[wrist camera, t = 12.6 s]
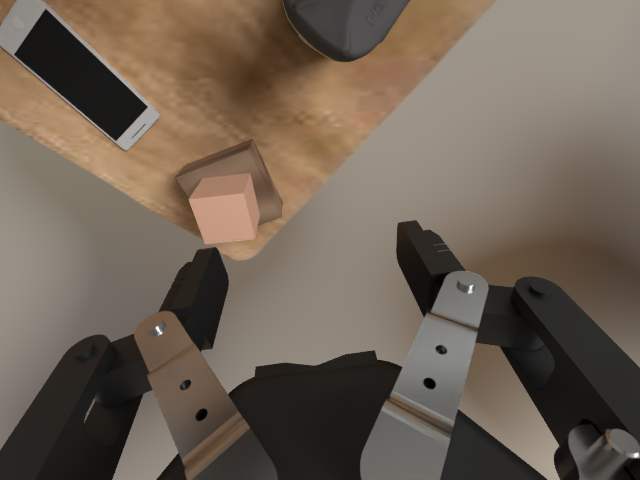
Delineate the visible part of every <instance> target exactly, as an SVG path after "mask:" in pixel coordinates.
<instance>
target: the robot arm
mask: <svg viewBox="0 0 640 480" xmlns="http://www.w3.org/2000/svg"><path fill="white" fill-rule="evenodd" d="M396 253H397V260H398V264H399V266H400V268H401V270H402V272H403V274H404V276H405V279H406V281H407V283H408V285H409V287H410V289H411V291H412V293H413V295H414V297H415V299H416V302H417V304H418V306H419V308H420V310H421V312H422V314H423V316H424V320H423V322H422V324H421V327H420V329H419V331H418V333H417V336H416V338H415V340H414V343H413V345H412V347H411V349H410V352H409V354H408V356H407V358H406V361H405V363H404V366H403V367H401V366H399V365H396V364H394V363H391V362H388V361H383V360H377V357H376V354H375V351H367V352H360V353H353V354H345V355H343V356H340V357H338V358H335V359H333V360H330V361H327V362H325V363H322V364H320V365H316V366H311V365H301V364H292V363H279V364H272V365H266V366H258V367H256V370H255V377H253V378H251V379H249V380H247V381H245V382H243V383H242V384H240V385H238V386H237V387H236V388H235V389H233V390H232V391H231V392H230V393H229V394H227V392H226V391H225V389H224V388H223V386H222V385H221V383H220V382H219V380H218V379H217V377H216V376H215V374H214V372H213V371H212V369H211V368H210V366H209V365H208V363H207V362H206V360H205V358H204V357H203V355H202V354H201V350H205V349H212V348H213V344H214V340H215V337H216V333H217V329H218V325H219V321H220V317H221V314H222V310H223V306H224V302H225V298H226V295H227V291H228V285H229V280H228V274H227V272H226V269H225V266H224V264H223V261H222V258H221V256H220V253H219V251H218V249H217V248H216V247H214V248H206V249H199V250H197V252H196V254H195V256H194V259H193V261H192V262H188V263H186V264H185V265H184V266H183V267H182V268H181V269H180V270H179V272H178V274H177V276H176V278H175V281H174V282H173V284H172V286H171V288H170V290H169V292H168V294H167V296H166V298H165V300H164V302H163V304H162V306H161V308H160V310H159V312H158V313H155V314H153V315H151V316H149V317H147V318H146V319H144V320H143V321H142V322H141V323H140V324H139V325H138V327H137V328H136V330H135V333H134V334H132V335H130V336H127V337H124V338H122V339H119V340H116V341H114V342H110V340H109V339H108V338H107V337H106V336H104V335H94V336H90V337H87V338H85V339H83V340H81V341H79V342H78V343H76V344H75V345H73V346H72V347H71V348H70V349H69V350H68V351H67V352H66V353H65V355H64V356H63V357H62V359H61V360H60V362H59V363H58V365H57V366H56V368H55V369H54V371H53V372H52V374H51V375H50V377H49V378H48V380H47V381H46V383H45V384H44V386H43V387H42V389H41V390H40V392H39V393H38V395H37V396H36V398H35V399H34V401H33V402H32V404H31V405H30V407H29V408H28V410H27V411H26V413H25V414H24V416H23V417H22V419H21V420H20V422H19V423H18V425H17V426H16V428H15V429H14V431H13V432H12V434H11V435H10V437H9V438H8V440H7V441H6V443H5V444H4V446H3V447H2V449H1V450H0V480H112V479H113V475H114V473H115V470H116V468H117V465H118V462H119V459H120V457H121V454H122V451H123V448H124V446H125V443H126V440H127V437H128V435H129V432H130V429H131V427H132V424H133V421H134V418H135V416H136V413H137V410H138V407H139V405H140V402H141V399H142V396H143V394H144V393H146V392H148V391H151V390H153V392H154V394H155V397H156V399H157V401H158V404H159V406H160V409H161V411H162V414H163V416H164V418H165V420H166V423H167V425H168V428H169V430H170V432H171V435H172V437H173V440H174V442H175V445H176V447H177V449H178V452H179V453H178V454H177V455H176V457H175V458H174V459H173V460H172V462H171V463H170V464H169V465H168V466H167V467H166V469H165V470H164V471H163V472H162V474H161V475H160V476H159V477H158V478H157V480H547V479H546V478H545V477H544V476H543V475H541V474H540V473H539V472H538V471H536V470H535V469H534V468H532V467H531V466H530V465H529V464H527V463H526V462H525V461H523V460H522V459H521V458H520V457H518V456H517V455H516V454H515V453H513V452H512V451H511V450H510V449H508V448H507V447H506V446H504V445H503V444H502V443H501V442H499V441H498V440H497V439H495V438H494V437H493V436H492V435H490V434H489V433H488V432H486V431H485V430H484V429H483V428H482V427H480V426H479V425H478V424H476V423H475V422H474V421H473V420H471V419H470V418H469V417H468V416H466V415H465V414H464V413H462V412H461V411H460V410H459V409H458V407H459V403H460V399H461V395H462V391H463V388H464V383H465V380H466V375H467V372H468V368H469V364H470V360H471V357H472V353H473V349H474V345H475V343H482V344H490V345H497V346H500V348H501V349H502V351H503V353H504V354H505V356H506V357H507V359H508V361H509V363H510V364H511V366H512V368H513V369H514V371H515V373H516V374H517V376H518V378H519V379H520V381H521V383H522V384H523V386H524V387H525V389H526V391H527V392H528V394H529V396H530V397H531V399H532V401H533V402H534V404H535V406H536V407H537V409H538V411H539V412H540V414H541V416H542V417H543V419H544V421H545V422H546V424H547V426H548V427H549V429H550V431H551V432H552V434H553V436H554V437H555V439H556V441H557V442H558V444H559V447H558V448H557V450H556V451H555V454H554V465H555V468H556V471H557V473H558V476H559V478H560V480H640V368H639V367H638V366H637V364H636V363H635V362H634V361H632V360H631V359H630V358H629V356H628V355H627V354H626V353H625V352H623V350H622V349H621V348H620V347H619V346H618V345H617V344H616V343H615V342H614V341H613V340H612V339H611V338H610V337H609V336H608V335H607V334H606V333H605V332H604V331H603V330H602V329H601V328H600V327H599V326H598V325H597V324H596V323H595V322H594V321H593V320H592V319H591V318H590V317H589V316H588V315H587V314H586V313H585V312H584V311H583V310H582V309H581V308H580V307H579V306H578V305H577V304H576V303H575V302H574V301H573V300H572V299H571V298H570V297H569V296H568V295H567V294H566V293H565V292H564V291H563V290H562V289H561V288H560V287H559V286H557V285H556V284H554V283H553V282H551V281H549V280H546V279H543V278H539V277H523V278H520V279H519V280H517V281H516V283H515V286H514V287H503V286H493V285H488V284H487V282H486V281H485V280H484V279H483V278H482V277H480V276H479V275H477V274H475V273H472V272H468V271H466V270H465V269H464V268H463V266H462V265H461V264H460V262H459V261H458V260H457V259H456V257H455V256H454V255H453V253H452V252H451V251H450V250H449V248H448V247H447V245H445V243H444V241H443V240H442V239H441V237H440V236H439V235H437V234H436V233H434V232H432V231H431V230H425V231H423V229H422V228H421V226H420V225H419V223H418V222H417V221H415V220H414V221H407V222H401V223H398V226H397V248H396ZM93 399H95V400H96V401H95V403H94V405H93V407H92V409H91V411H90V413H89V415H88V417H87V419H86V421H85V423H84V419H85V416H86V413H87V411H88V409H89V407H90V405H91V403H92V401H93Z"/></svg>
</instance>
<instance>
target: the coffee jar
mask: <svg viewBox="0 0 640 480" xmlns="http://www.w3.org/2000/svg"><path fill="white" fill-rule="evenodd" d="M409 1H410V0H283V6H284V10H285V13H286V15H287V18H288V21H289V24H290V26H291V28H292V30H293V31H294V32H295V33H296V35H297V36H298V37H299V38H300V39H301V40H302V41H303V42H304V43H306V44H307V45H308V46H309V47H311V48H312V49H314V50H315V51H317V52H319V53H320V54H322V55H323V56H325V57H327V58H329V59H331V60H333V61H336V62H350V61H354V60H356V59H359V58H361V57H363V56H365V55H367V54H368V53H369V52H371V51H372V50H373V49H374V48H375V47H376V46H377V45H378V44H379V43H381V42H382V41H383V40H384V39H385V37H386V36H387V34H388V32H389V31H390V29H391V28H392V26H393V25H394V23H395V22H396V20H397V19H398V18H399V16H400V14H401V13H402V11H403V10H404V8H405V7H406V6H407V4H408V3H409Z"/></svg>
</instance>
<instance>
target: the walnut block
mask: <svg viewBox="0 0 640 480" xmlns="http://www.w3.org/2000/svg"><path fill="white" fill-rule="evenodd" d="M246 173H250V174H251V178H252V183H253V187H254V191H255V196H256V200H257V204H258V209H259V213H260V217H259V222H258V225H261V224H263V223H266V222H269V221H272V220H275V219H278V218H281V217H282V203H283V202H282V200H281V198H280V196H279V193H278V191H277V189H276V187H275V185H274V183H273V181H272V179H271V176H270V174H269V172H268V170H267V168H266V166H265V164H264V162H263V159H262V157H261V155H260V153H259V151H258V149H257V147H256V145H255V142H254V140H253V139H251V140H249V141H246V142H243V143H241V144H238V145H236V146H233V147H231V148H228V149H225V150H223V151H220V152H218V153H215V154H213V155H210V156H207V157H205V158H202V159H200V160H197V161H195V162H192V163H189V164H187V165H186V166H185V167H184V168H183V169H182V170H181V171H180V173H179V174H178V175H177V176H176V177H175V178H176V180H177V181H178V183H179V184H180V186H181V187H182V189H183V190H184V192H185V193H186V195H187V196H188V198H190V196H191V195H192V193H193V192H194V190H195V189H196V187H197V186H198V184H199V183H200V181H201V180H202V178H210V177H219V176H228V175H237V174H246Z"/></svg>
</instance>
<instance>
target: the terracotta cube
mask: <svg viewBox="0 0 640 480" xmlns="http://www.w3.org/2000/svg"><path fill="white" fill-rule="evenodd" d="M189 202H190V205H191V208H192V210H193V213H194V216H195V218H196V221H197V224H198V227H199V229H200V232H201V235H202V237H203V240H204V243H205V244H215V243H224V242H233V241H242V240H250V239H255V237H256V232H257V227H258V222H259V217H260V213H259V209H258V204H257V200H256V196H255V191H254V187H253V183H252V178H251V174H250V173H246V174H237V175H228V176H219V177H210V178H202V180H201V181H200V183H199V184H198V186H197V187H196V189H195V190H194V192H193V193H192V195H191V196H190V198H189Z"/></svg>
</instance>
